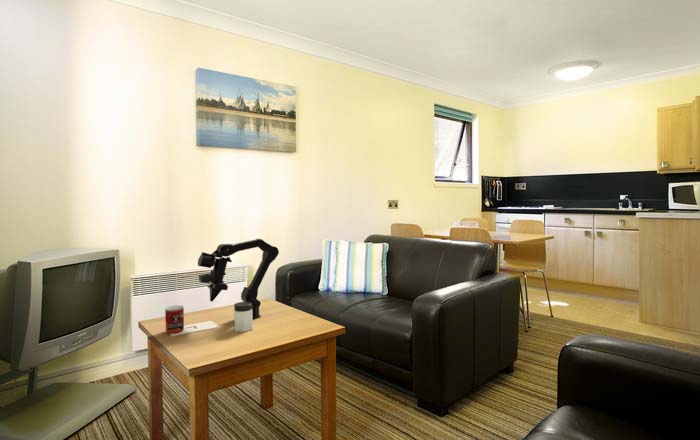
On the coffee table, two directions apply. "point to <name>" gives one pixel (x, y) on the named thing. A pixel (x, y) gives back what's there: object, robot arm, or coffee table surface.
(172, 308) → the canned food
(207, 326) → the letter mat
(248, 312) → the jar
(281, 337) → the coffee table surface
